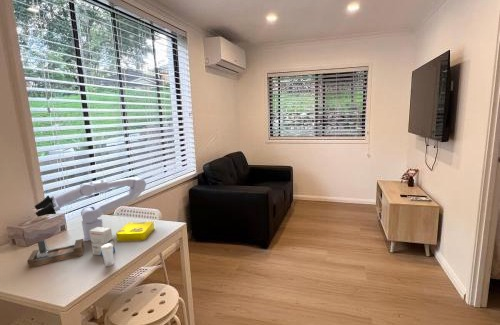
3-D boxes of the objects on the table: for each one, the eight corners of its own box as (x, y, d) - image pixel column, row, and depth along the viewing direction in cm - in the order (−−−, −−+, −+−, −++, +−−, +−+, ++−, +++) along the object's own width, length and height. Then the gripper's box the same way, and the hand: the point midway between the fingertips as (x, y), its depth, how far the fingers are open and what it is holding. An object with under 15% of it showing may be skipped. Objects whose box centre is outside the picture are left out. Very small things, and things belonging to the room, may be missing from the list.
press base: (84, 246, 138) (82, 238, 138) (82, 255, 129) (80, 247, 129) (34, 257, 130) (32, 249, 129) (28, 267, 121) (26, 258, 120)
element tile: (155, 228, 156) (154, 220, 156) (144, 240, 142) (143, 231, 141) (129, 229, 157) (127, 221, 156) (115, 242, 142) (114, 233, 141)
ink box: (115, 251, 131) (111, 227, 129) (107, 256, 127) (103, 232, 125) (101, 249, 134) (97, 226, 132) (92, 254, 130) (88, 230, 128)
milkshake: (104, 262, 122) (100, 240, 120) (117, 261, 122) (113, 239, 120) (99, 268, 117) (96, 245, 116) (113, 266, 118) (109, 244, 116)
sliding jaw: (51, 251, 131) (48, 236, 129) (48, 257, 125) (45, 241, 124) (40, 253, 129) (37, 238, 128) (37, 259, 124) (34, 244, 122)
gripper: (61, 185, 143) (30, 198, 137) (65, 196, 133) (32, 211, 126) (68, 196, 147) (38, 209, 140) (72, 208, 136) (40, 223, 130)
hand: (36, 211), depth 133 cm, fingers open, 7 cm apart
